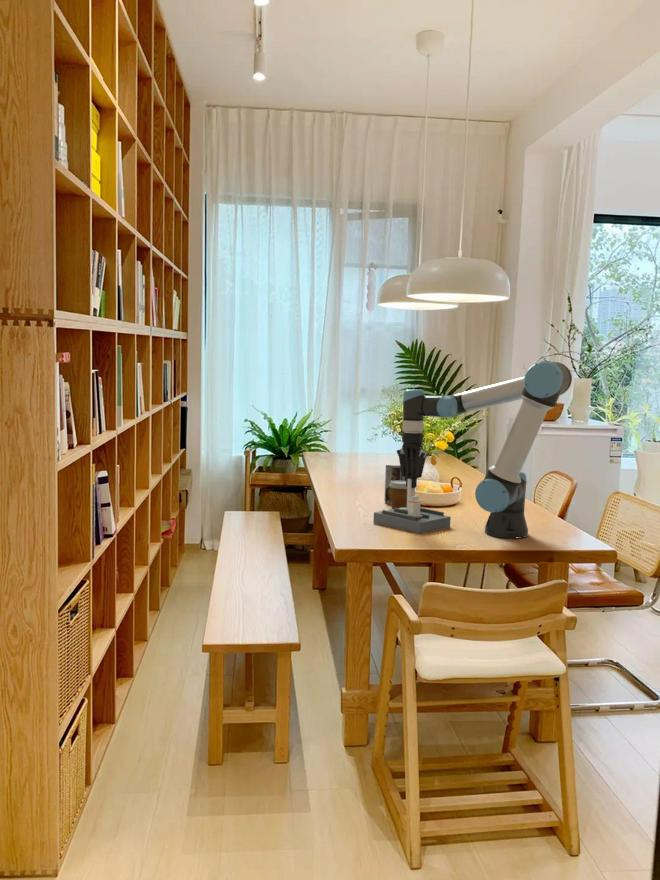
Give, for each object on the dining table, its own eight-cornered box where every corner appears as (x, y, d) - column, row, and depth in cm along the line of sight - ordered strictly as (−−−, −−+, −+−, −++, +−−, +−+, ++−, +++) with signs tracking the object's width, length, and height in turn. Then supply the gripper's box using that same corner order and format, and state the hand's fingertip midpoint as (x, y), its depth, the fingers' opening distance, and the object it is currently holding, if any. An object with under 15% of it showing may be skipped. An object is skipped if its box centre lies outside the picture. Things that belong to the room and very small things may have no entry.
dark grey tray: (450, 527, 280) (451, 501, 279) (419, 533, 267) (420, 506, 266) (404, 517, 295) (405, 492, 294) (373, 522, 283) (374, 496, 282)
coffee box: (404, 502, 328) (406, 465, 326) (405, 504, 322) (407, 467, 320) (383, 501, 328) (385, 464, 326) (384, 504, 322) (386, 466, 320)
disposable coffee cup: (391, 513, 302) (393, 483, 300) (385, 508, 311) (386, 480, 310) (414, 513, 304) (416, 484, 302) (407, 508, 313) (409, 480, 312)
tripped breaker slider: (422, 517, 275) (423, 501, 275) (413, 518, 272) (414, 502, 271) (413, 515, 278) (414, 499, 278) (405, 516, 275) (405, 501, 274)
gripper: (433, 432, 272) (431, 497, 274) (405, 430, 281) (403, 493, 283) (420, 433, 266) (418, 499, 269) (392, 431, 276) (390, 495, 278)
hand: (410, 496), depth 276 cm, fingers closed
